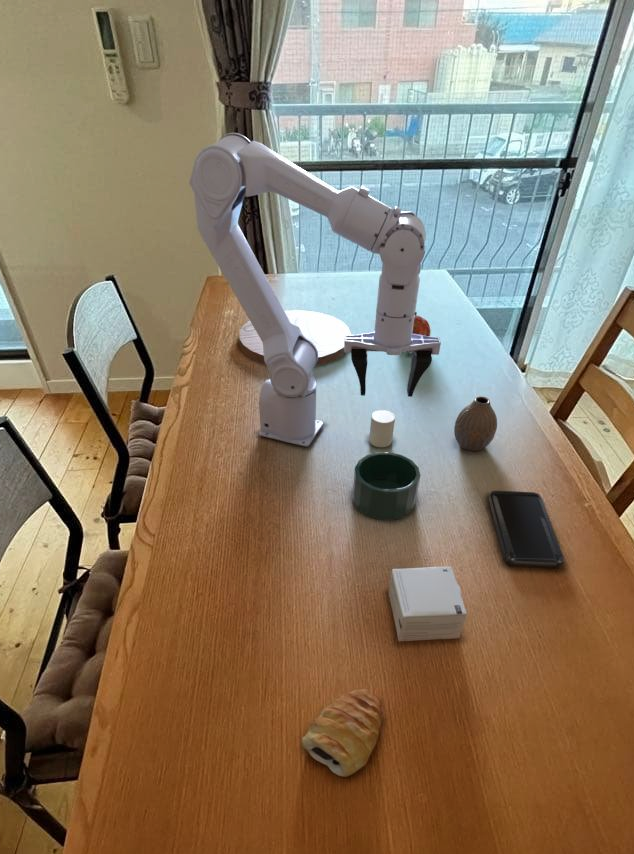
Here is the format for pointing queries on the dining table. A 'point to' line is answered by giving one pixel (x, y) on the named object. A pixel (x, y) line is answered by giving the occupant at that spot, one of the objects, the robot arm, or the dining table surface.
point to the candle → (381, 428)
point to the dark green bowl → (385, 485)
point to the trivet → (314, 327)
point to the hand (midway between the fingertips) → (386, 393)
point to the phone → (524, 530)
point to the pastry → (345, 732)
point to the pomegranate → (420, 327)
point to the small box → (426, 603)
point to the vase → (476, 425)
